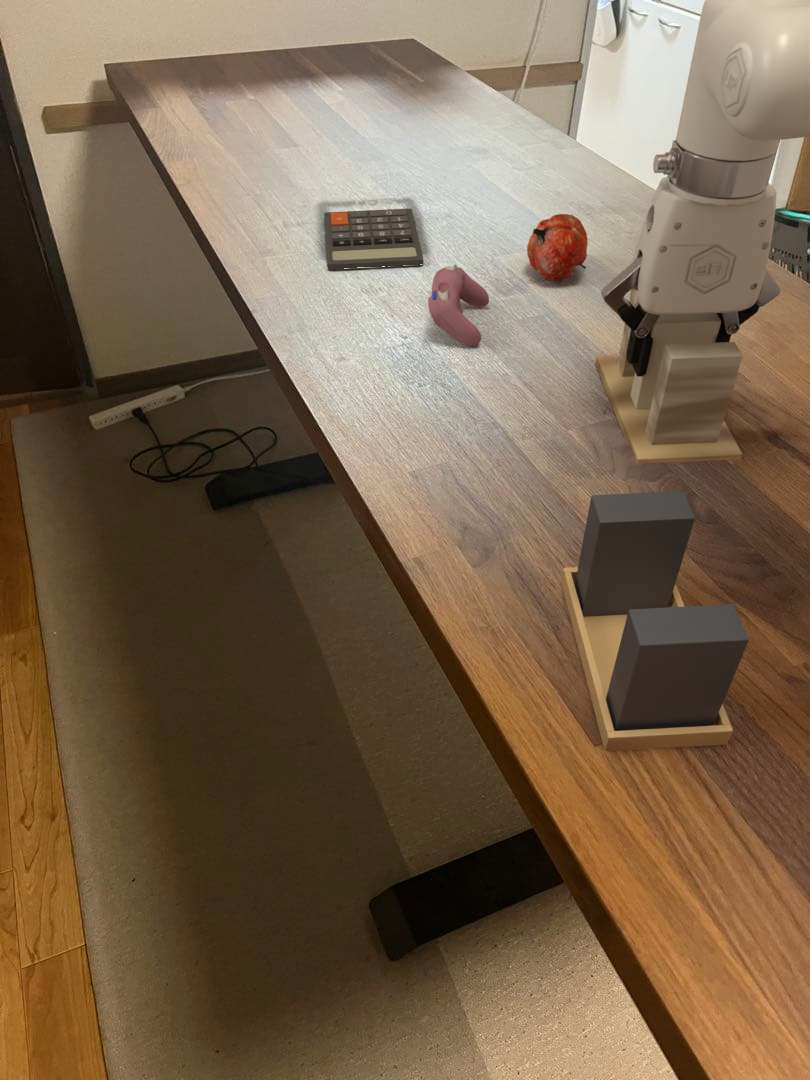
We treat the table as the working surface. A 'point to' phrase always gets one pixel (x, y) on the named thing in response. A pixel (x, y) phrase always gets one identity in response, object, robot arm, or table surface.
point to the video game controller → (456, 303)
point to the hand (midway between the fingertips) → (672, 365)
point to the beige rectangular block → (667, 333)
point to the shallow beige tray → (598, 659)
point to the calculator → (371, 239)
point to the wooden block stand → (676, 401)
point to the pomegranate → (558, 247)
